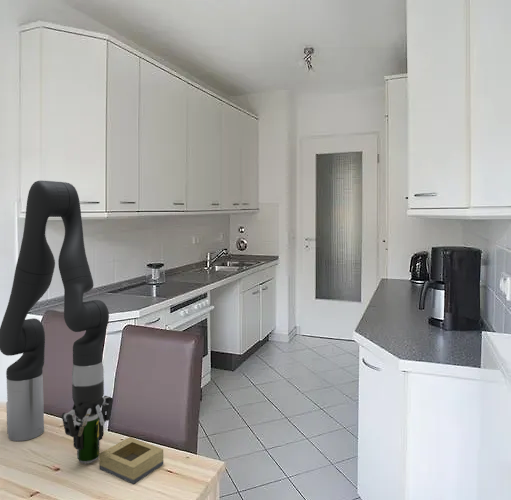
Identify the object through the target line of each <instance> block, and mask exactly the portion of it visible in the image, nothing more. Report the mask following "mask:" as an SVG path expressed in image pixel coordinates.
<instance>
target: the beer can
mask: <svg viewBox="0 0 511 500" xmlns="http://www.w3.org/2000/svg"><path fill="white" fill-rule="evenodd" d="M77 421H78V422H82V420H81V419H79V418H78V419H77ZM78 429H79V426H78ZM82 435H83V449H82V450H78V449H76V450H77V451H76V452H77V458H76V459H77V460H78V462H79V463H81V464H91V463H93V462H95V461H97V460H98V459H99V453H101V452H100V451H101V450H100V449H101V448H100V446H101V445H100V444H101V443H100V440H99V416H98V413H94V414H91V415H89V417H88V420H87V424H86V426H85V427H84V429H83V433H82Z"/></svg>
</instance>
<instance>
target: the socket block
mask: <svg viewBox="0 0 511 500" xmlns="http://www.w3.org/2000/svg"><path fill="white" fill-rule="evenodd" d="M98 459H99V461H98V462H99V463H98V466H99V470H101V471H103V472H105V473H107V474H109V475H112V476H114V477H117V478H119V479H121V480H122V481H123V480H124V481H125V482H128V483H130V484H132V485H135V484H136V483H137V482H140V481H141V480H143V479H144V478H146V477H147V476H148V475H150V474H152V473H153V472H154V471H156V470H157V469H159V468H161V467H162V466H164V448H161V447H158V446H155V445H153V444H150V443H147V442H144V441H142V440H139V439H137V438H133V437H131V436H130V437H128V438H125V439H123V440H121V441H120V442H117V444H115V445H113V446H111V447H109V448H107V449H105V450H104V451H101V452H100V453H99V457H98Z"/></svg>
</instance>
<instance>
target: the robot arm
mask: <svg viewBox="0 0 511 500" xmlns="http://www.w3.org/2000/svg"><path fill="white" fill-rule="evenodd" d="M25 207H26V208H25V218H24V225H23V233H22V234H23V235H22V240H21V245H20V249H19V253H18V258H17V261H16V265H15V269H14V276H13V282H12V287H11V291H10V296H9V299H8V303H7V307H6V309H5V312H4V315H3V318H2V321H1V324H0V352H1V353H2V354H3V355H5V356H7V357H9V356H10V357H11V356H16V355H17V356H18V355H21V354H22V355H21V356H20V357H19V358H18V359H17V360H15V362H13V363H11V364H10V365H9V366H8V367H7V368H6V372H5V375H6V396H7V397H6V404H5V405H6V430H7V431H6V432H7V437H8V439H9V440H11V441H15V442H22V441H23V442H24V441H28V440H32V439H35V438H37V437H40V436H41V435H42V434H43V433H44V431H45V417H44V416H45V415H44V414H45V410H44V407H45V405H44V381H43V380H44V379H43V375H44V373H43V369H44V365H45V346H46V335H45V334H46V332H45V327H44V325H43V323H42V322H41V321H40V320H39V319H37V318H35V317H34V318H28V319H26V318H27V316H28V314H29V312H30V311H31V310H32V309H33V307H34V306H35V305H37V303H38V301H39V300H41V298H42V297H43V296H44V294H45V293H46V292H47V291H48V289H49V287H50V286H51V283H52V280H53V275H54V272H55V268H56V260H55V257H54V253H53V251H52V250H51V247H50V245H49V243H48V241H47V237H46V230H47V223H48V219H49V218H61V220H62V223H63V227H64V238H63V241H62V244H61V248H60V251H59V255H58V270H59V274H60V278H61V281H62V285H63V288H64V290H63V291H64V292H63V293H64V295H63V296H64V297H63V300H64V302H63V305H64V306H63V307H64V308H63V320H64V323H65V324H66V326H67V328H68V329H69V330H71V332H75V333H81V332H84V331H85V333H84V334H83V335H82V336H81V337H80V338H78V339H77V340H76V339H75V341H74V342H73V344H72V371H71V389H72V392H71V393H72V397H71V398H72V400H73V406H72V408H71V410H70V411H68V412H63V413H62V414H61V418H62V424H63V427H64V432H65V435H67V436H70V437H72V438H73V448H75V449H76V450H77V449H78V450H82V449H83V435H82V433H83V429H84V427H85V426H86V424H87V420H88V417H89V415H91V414H94V413H98V416H99V441H101V440H103V437H104V435H105V434H104V433H105V432H104V430H105V429H104V425H105V424H106V422H107V421H109V420H110V419H111V415H112V407H113V400H114V399H113V397H111V396H107V395H104V394H105V382H104V380H105V379H104V378H105V377H104V376H105V375H104V373H105V371H104V365H103V364H104V362H103V343H104V340H105V337H106V333H107V330H108V325H109V319H110V315H109V309H108V306H107V305H106V303H105V302H104V301H102V300H101V299H93V300H88V301H83V299H84V298H83V297H84V294H85V293H87V292H90V291H91V290H92V289H93V288H94V280H93V279H94V278H93V275H92V273H91V270H90V265H89V261H88V258H87V254H86V253H87V252H86V249H85V241H84V229H83V221H82V220H83V219H82V212H81V202H80V197H79V194H78V191H77V189H76V187H75V186H74V185H73V184H72V183H69V182H66V181H56V180H55V181H53V180H36V181H34V182H33V184H31V185H30V189H29V190H28V194H27V200H26V206H25ZM78 418H79V419H81V420H82V422H78V421H77V419H78ZM78 426H79V429H78Z"/></svg>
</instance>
